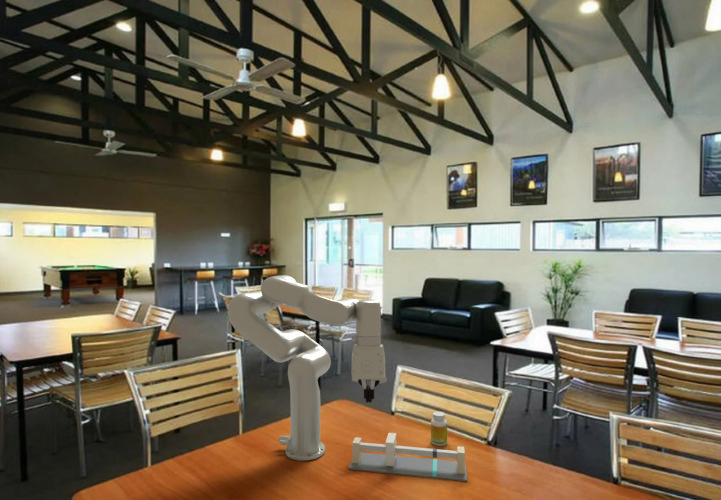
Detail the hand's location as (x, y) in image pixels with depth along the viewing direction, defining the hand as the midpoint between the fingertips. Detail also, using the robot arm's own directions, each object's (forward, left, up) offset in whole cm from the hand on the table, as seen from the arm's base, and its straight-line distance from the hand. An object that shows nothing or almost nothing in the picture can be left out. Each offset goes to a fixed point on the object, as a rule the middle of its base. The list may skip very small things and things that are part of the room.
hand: (369, 400), depth 128 cm
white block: (+7, 0, -17) cm, 19 cm away
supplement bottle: (+21, +18, -19) cm, 33 cm away
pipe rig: (+12, 0, -19) cm, 22 cm away
